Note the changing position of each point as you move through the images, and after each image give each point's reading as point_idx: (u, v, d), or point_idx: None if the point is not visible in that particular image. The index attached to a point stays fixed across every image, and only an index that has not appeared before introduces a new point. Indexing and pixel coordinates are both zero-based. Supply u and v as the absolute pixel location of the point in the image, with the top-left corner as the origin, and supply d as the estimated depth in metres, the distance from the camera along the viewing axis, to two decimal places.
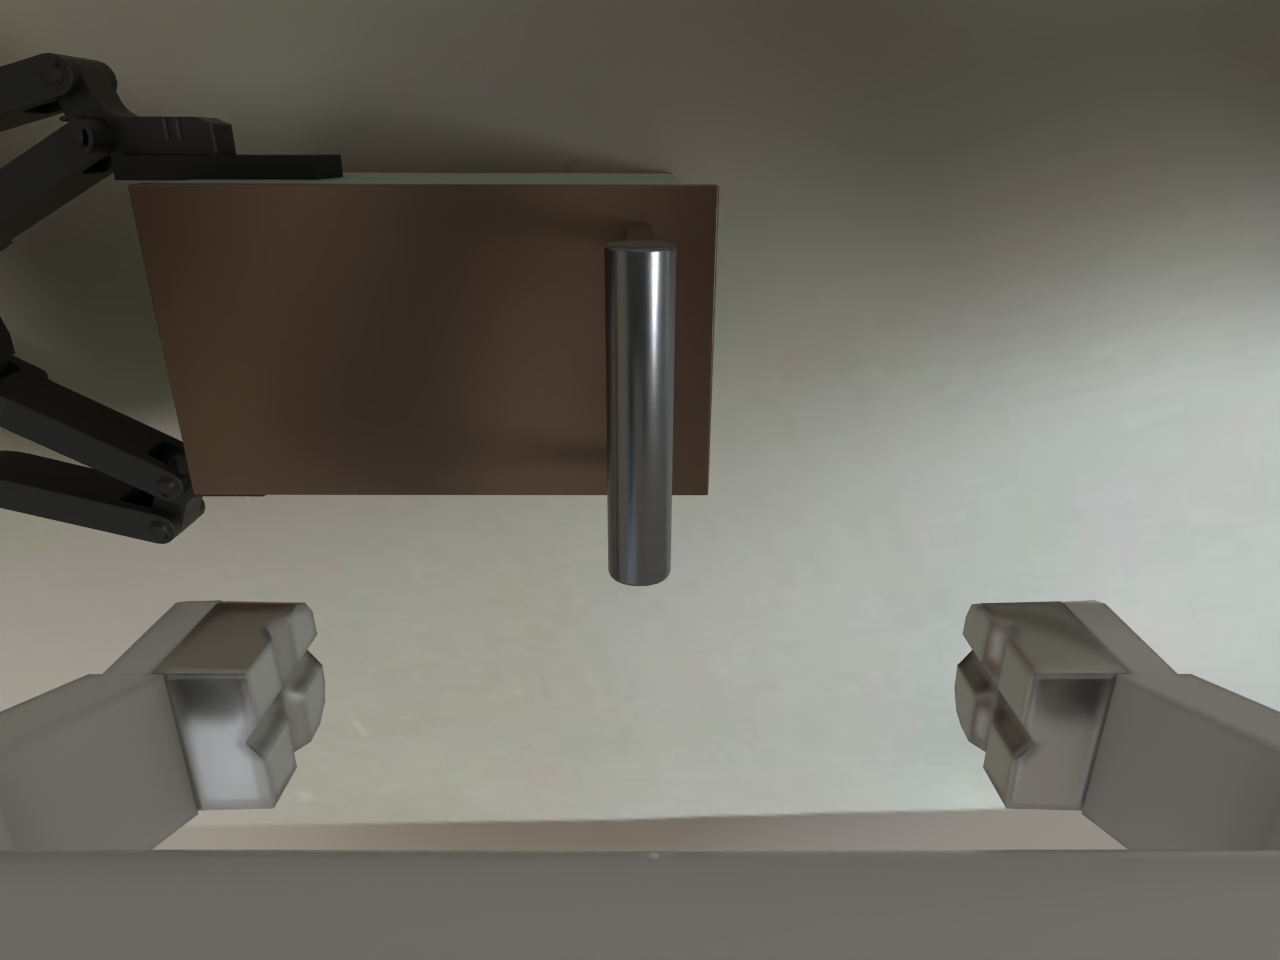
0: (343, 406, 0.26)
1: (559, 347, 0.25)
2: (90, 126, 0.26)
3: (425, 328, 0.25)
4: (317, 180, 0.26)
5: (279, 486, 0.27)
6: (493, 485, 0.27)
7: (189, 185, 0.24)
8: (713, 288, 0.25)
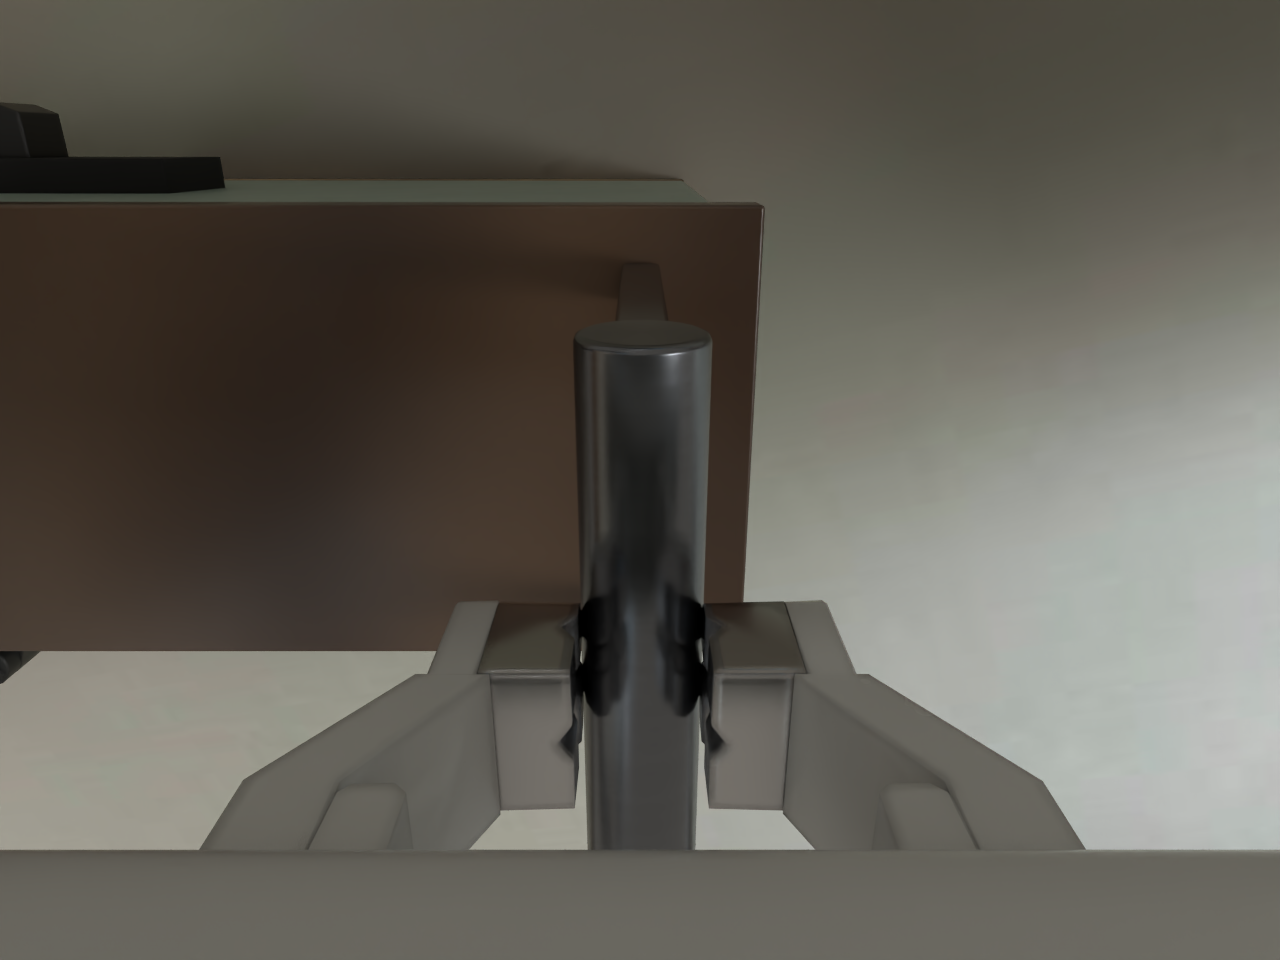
0: (202, 530, 0.17)
1: (520, 445, 0.17)
2: None
3: (318, 419, 0.17)
4: (167, 195, 0.18)
5: (117, 640, 0.18)
6: (428, 638, 0.19)
7: None
8: (754, 360, 0.16)
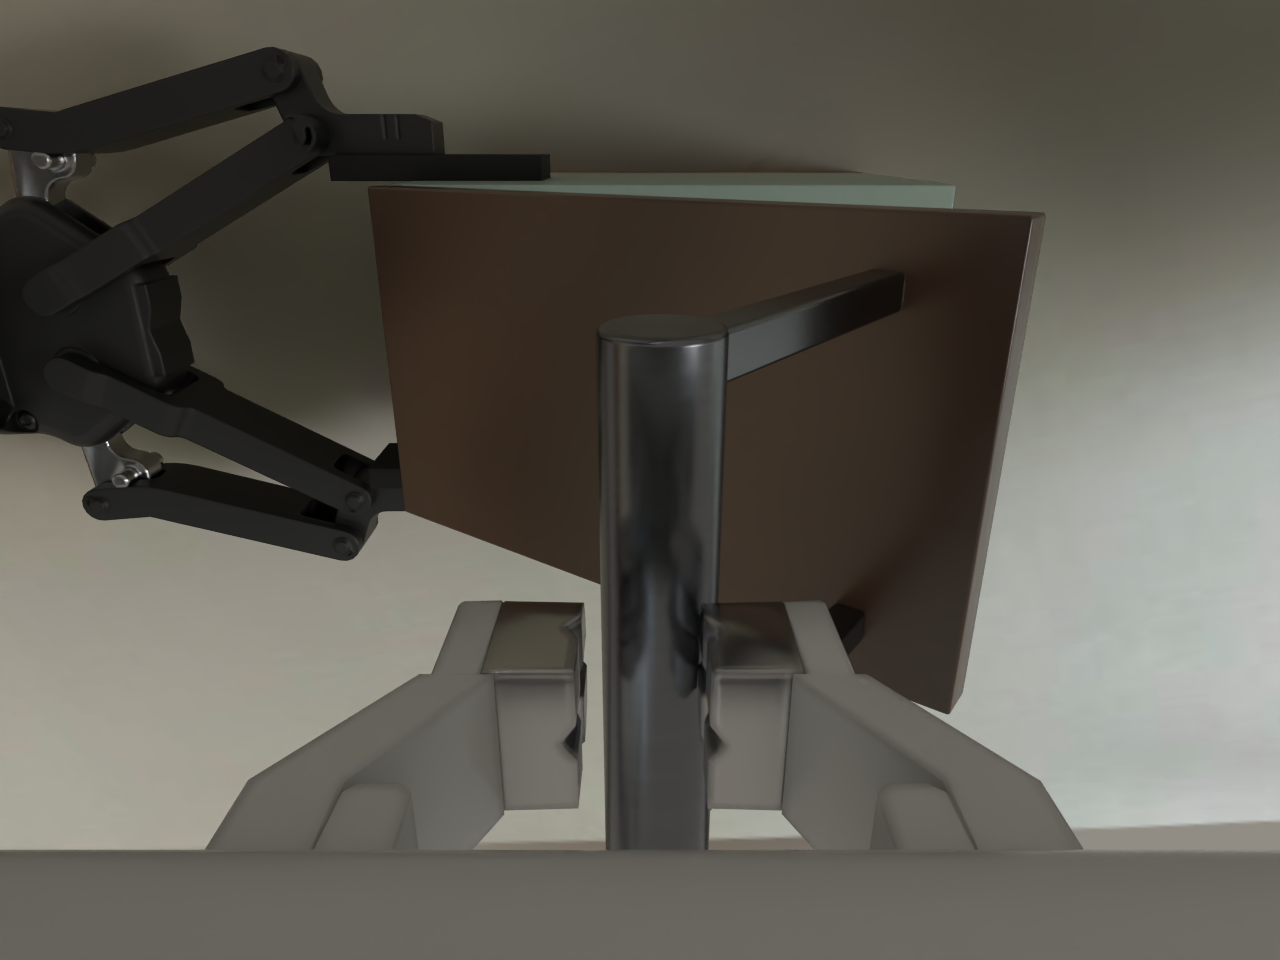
0: (522, 455, 0.22)
1: (754, 437, 0.17)
2: (313, 124, 0.25)
3: None
4: (548, 181, 0.25)
5: (466, 526, 0.24)
6: None
7: (410, 189, 0.21)
8: (1000, 392, 0.14)
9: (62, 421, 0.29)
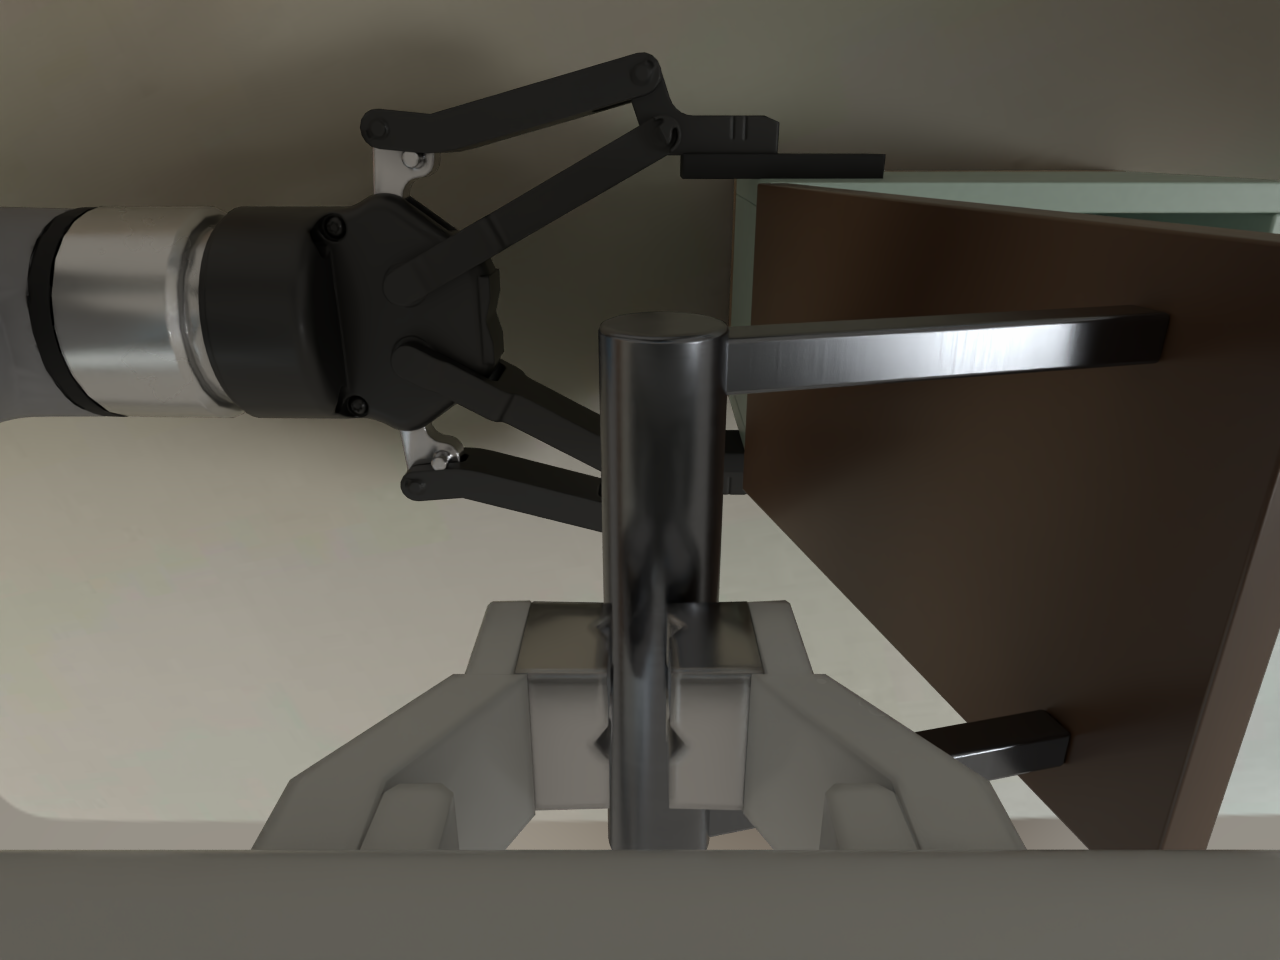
0: (819, 458, 0.22)
1: (996, 488, 0.15)
2: (679, 125, 0.26)
3: (884, 396, 0.18)
4: (895, 179, 0.26)
5: (776, 515, 0.25)
6: (899, 638, 0.19)
7: (781, 187, 0.22)
8: (1265, 495, 0.10)
9: (392, 406, 0.30)
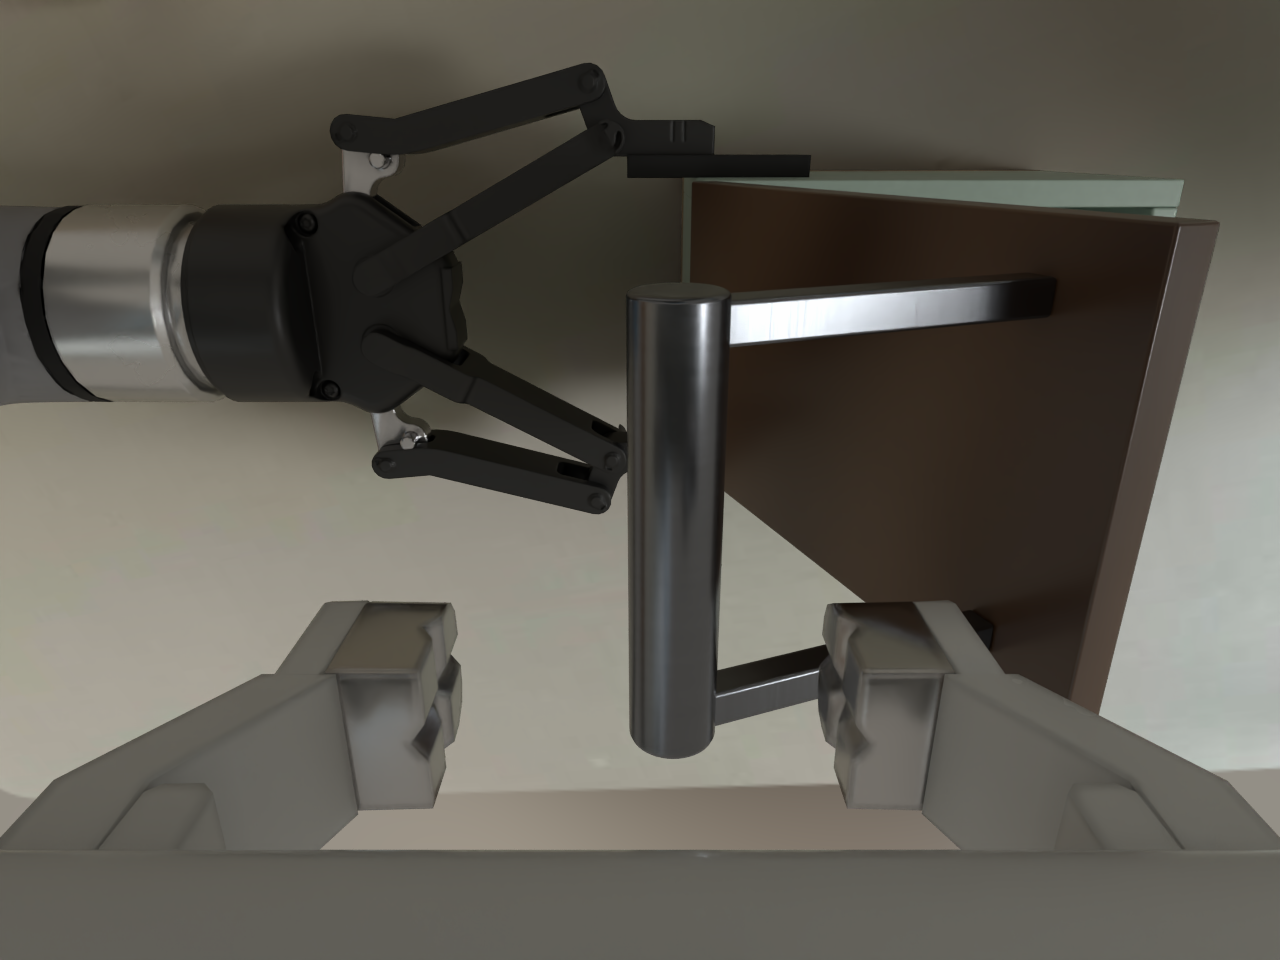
0: (761, 424, 0.24)
1: (923, 431, 0.18)
2: (623, 129, 0.29)
3: (821, 363, 0.21)
4: None
5: None
6: (843, 572, 0.21)
7: (716, 184, 0.25)
8: (1132, 412, 0.13)
9: (363, 390, 0.33)
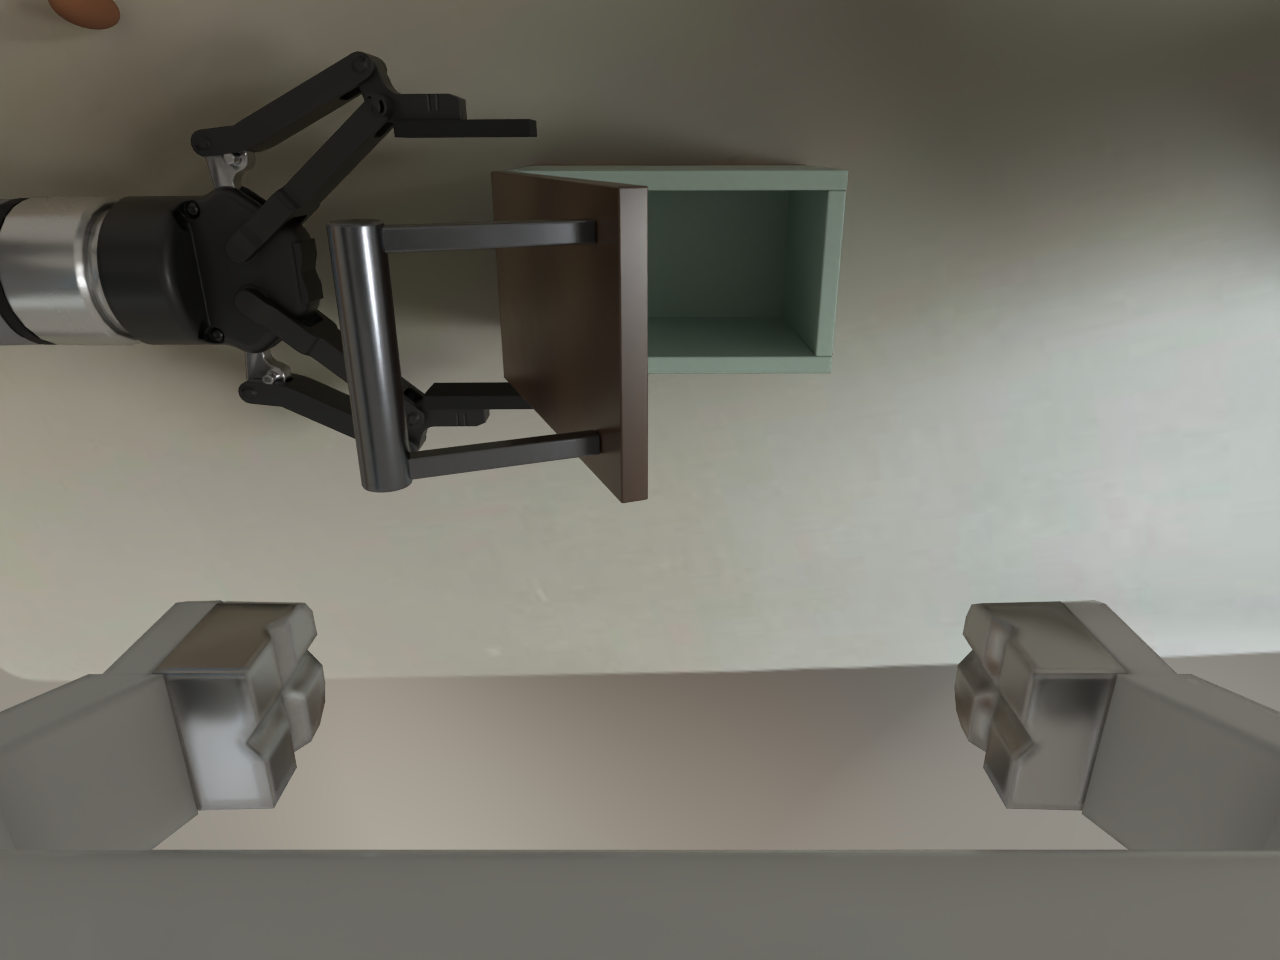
0: (527, 338, 0.35)
1: (573, 323, 0.29)
2: (383, 98, 0.39)
3: (541, 289, 0.32)
4: (598, 169, 0.40)
5: (517, 386, 0.38)
6: (559, 429, 0.32)
7: (499, 173, 0.36)
8: (618, 291, 0.24)
9: (240, 335, 0.44)
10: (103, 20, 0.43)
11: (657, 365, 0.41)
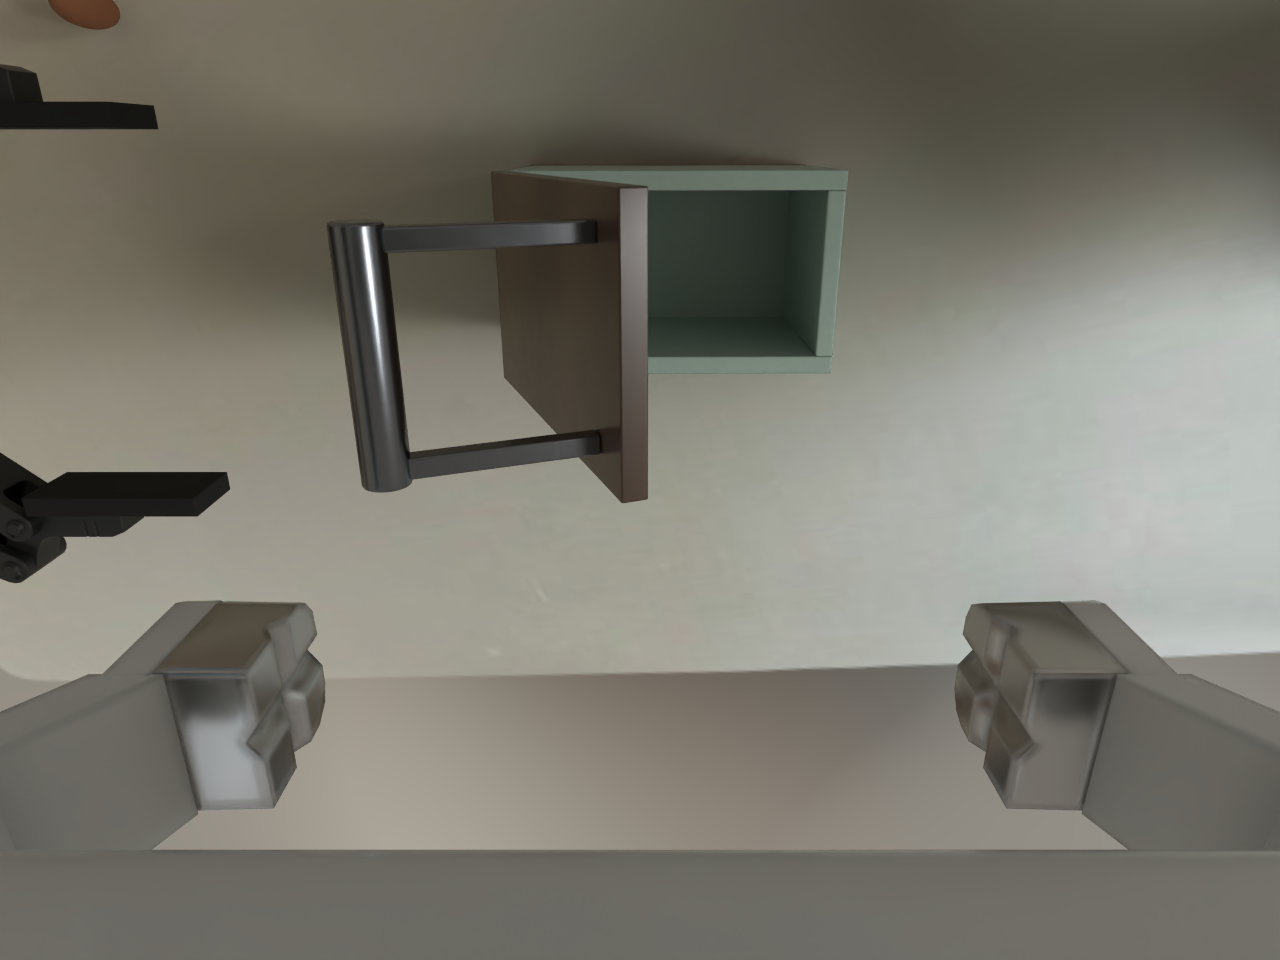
0: (527, 338, 0.35)
1: (573, 323, 0.29)
2: None
3: (541, 289, 0.32)
4: (598, 169, 0.40)
5: (517, 386, 0.38)
6: (559, 429, 0.32)
7: (499, 173, 0.36)
8: (618, 291, 0.24)
9: None
10: (103, 20, 0.43)
11: (657, 365, 0.41)
